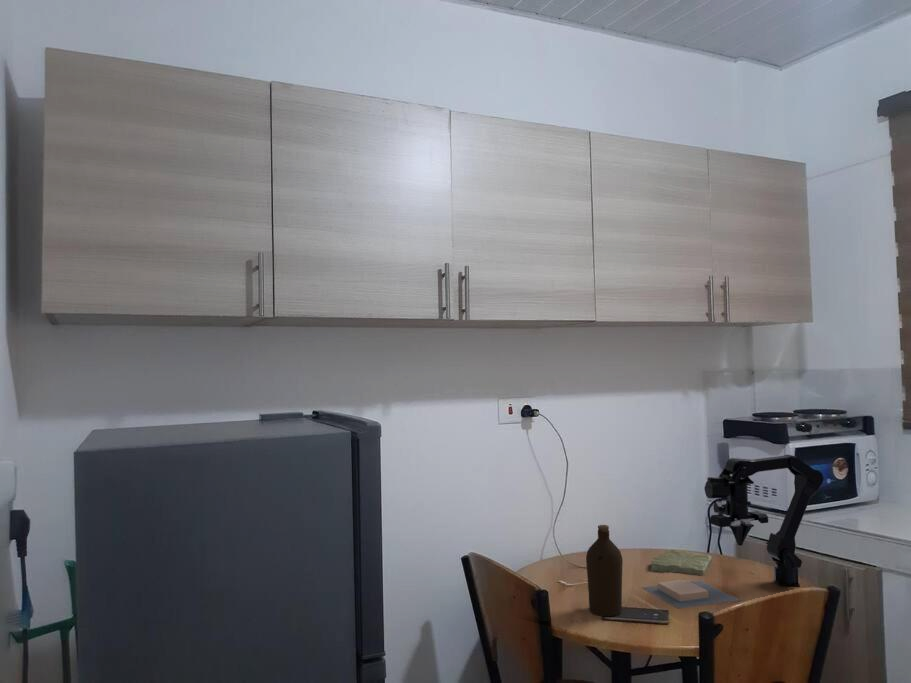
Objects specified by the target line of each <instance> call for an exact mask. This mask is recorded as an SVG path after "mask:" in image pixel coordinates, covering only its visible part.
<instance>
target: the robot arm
mask: <svg viewBox="0 0 911 683" xmlns="http://www.w3.org/2000/svg"><path fill="white" fill-rule="evenodd" d="M782 469H783V470H784V469H787V470H789V473H791V474H792V475H793V476H794V480H793V482H794V483H793V484H794V493H793V496H792V498H791V500H790V504H789V506H788V507H787V511H786V513H785V515H784V518H783V521H782V523H781V526H780V529H779V530H778V531H777V532H776V533H773V532H770V534H769V538H768V540H767V541H766V543H765V545H766V550H767V554H768V555H769V556H770V557H771V560H772V561H773V562H775V563H774V564H775V566H774V567H773V580H774V581H775V582H776V584H777V583H778V584H779V585H778V584H777V585H778V586H784V585H794V586H793V587H801V584H800V582H799V568H801V567H802V563H803V561H802V560H801V559H800V558H799V556H797V555H796V548H797V545H796V544H797V543H796V535H797V533H798V531H799V528H800V526H801V522H802V519H803V517H804V515H805V512H806V510H807V507H808V505H809V503H810V500H811V498H812V497H813V496H814V495H815V494H816V493H818V491H820V488H821V487H822V485H823V483H824V480H825V478H824V475H823V473H822V472H821V471H820V470H819V469H814V468H813V467H811V466H810V465H808V464H807V463H805V462H804V461H802V460H801V459H800V458H798V456H796V455H793V454H784V455H778V456H771V457H762V458H761V457H760V458H755V459H751V458H748V459H747V458H739V457H738V458H737V457H736V458H735V457H731V458H729V459H727V461H726V462H725V467H724V468H723V469H722V471H721V472H720V474H719V476H718V477H711V476H708V477H707V480H706V482H705V484H704V494H705V496H706V498H707V499H726V501H725V504H722V502H714V503H713V512H714V513H715V514H711V515H710V517H709V524H711V525H714V526H717V527H719V528H725V527H726V528H727V527H729V528H730V529H731V532H732V534H733V537H734V538H735V539H734V540H735V541H736V544H737V546H740V547H741V546H743V544H744V542H745V541H746V539H747V536H748V535H749V533H750V531H751V530H752V528H753V527H755V525H754V524H753V523H752V521H758V522H759V523H760V524H768V523H769V516H768V514H767V513H764V512H761V511H758V510H754V511H749V506H750V505H751V503H752V502H751V501H749V497H748V485H753V484H754V483H755V482H754V481H753V480H752V479H751V478H750V477H751V476H754V475H755V474H757V473H760V472H766V471H767V472H768V471H775V470H782ZM716 513H717V514H716Z"/></svg>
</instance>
